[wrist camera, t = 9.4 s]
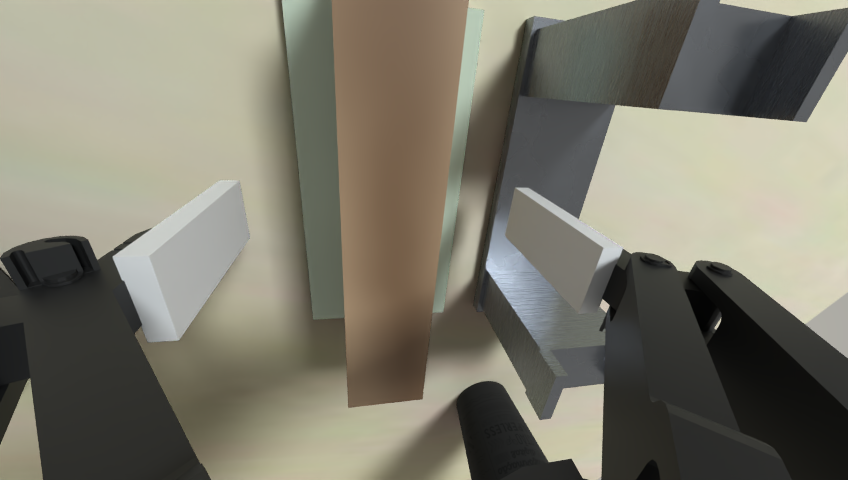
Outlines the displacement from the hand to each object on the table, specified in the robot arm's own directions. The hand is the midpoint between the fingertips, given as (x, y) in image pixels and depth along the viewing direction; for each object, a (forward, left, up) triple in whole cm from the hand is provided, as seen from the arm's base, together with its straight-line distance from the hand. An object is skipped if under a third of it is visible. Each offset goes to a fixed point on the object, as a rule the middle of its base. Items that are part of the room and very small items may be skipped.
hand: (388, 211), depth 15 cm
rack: (+10, 0, -4) cm, 11 cm away
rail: (0, 0, -3) cm, 3 cm away
